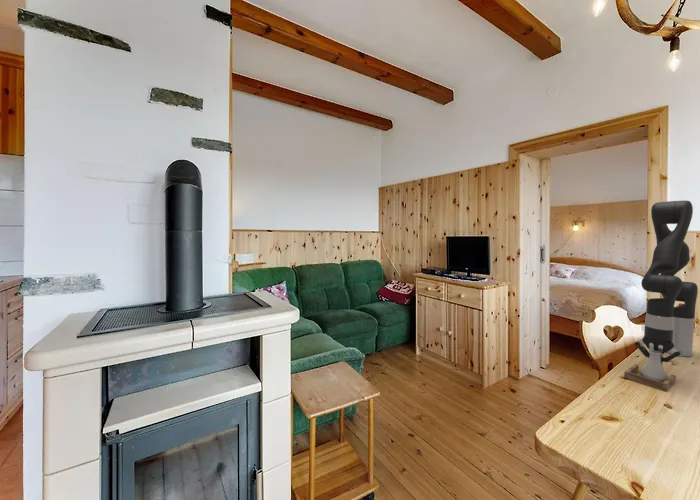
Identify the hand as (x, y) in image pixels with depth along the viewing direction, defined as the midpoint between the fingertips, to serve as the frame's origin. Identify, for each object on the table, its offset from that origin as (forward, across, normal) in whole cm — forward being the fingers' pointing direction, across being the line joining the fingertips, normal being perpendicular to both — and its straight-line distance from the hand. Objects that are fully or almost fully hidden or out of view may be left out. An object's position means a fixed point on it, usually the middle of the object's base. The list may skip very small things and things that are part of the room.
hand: (655, 369), depth 113 cm
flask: (+2, 0, +4) cm, 4 cm away
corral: (+2, 0, +8) cm, 8 cm away
